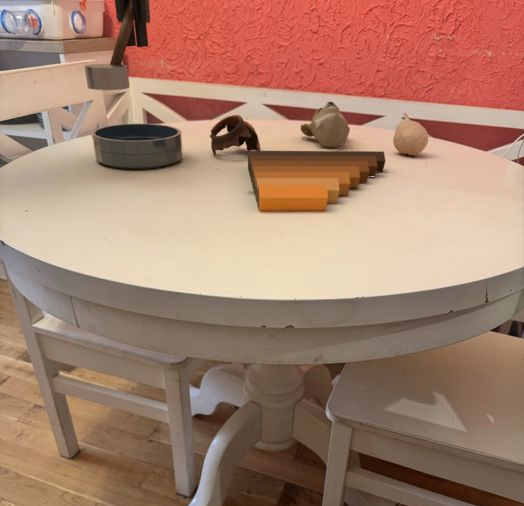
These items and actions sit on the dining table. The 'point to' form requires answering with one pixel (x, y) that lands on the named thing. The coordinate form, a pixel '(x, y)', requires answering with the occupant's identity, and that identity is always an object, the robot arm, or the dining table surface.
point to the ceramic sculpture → (327, 126)
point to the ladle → (113, 61)
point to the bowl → (137, 145)
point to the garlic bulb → (410, 137)
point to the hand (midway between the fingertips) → (136, 46)
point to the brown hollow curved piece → (234, 134)
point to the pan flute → (308, 176)
